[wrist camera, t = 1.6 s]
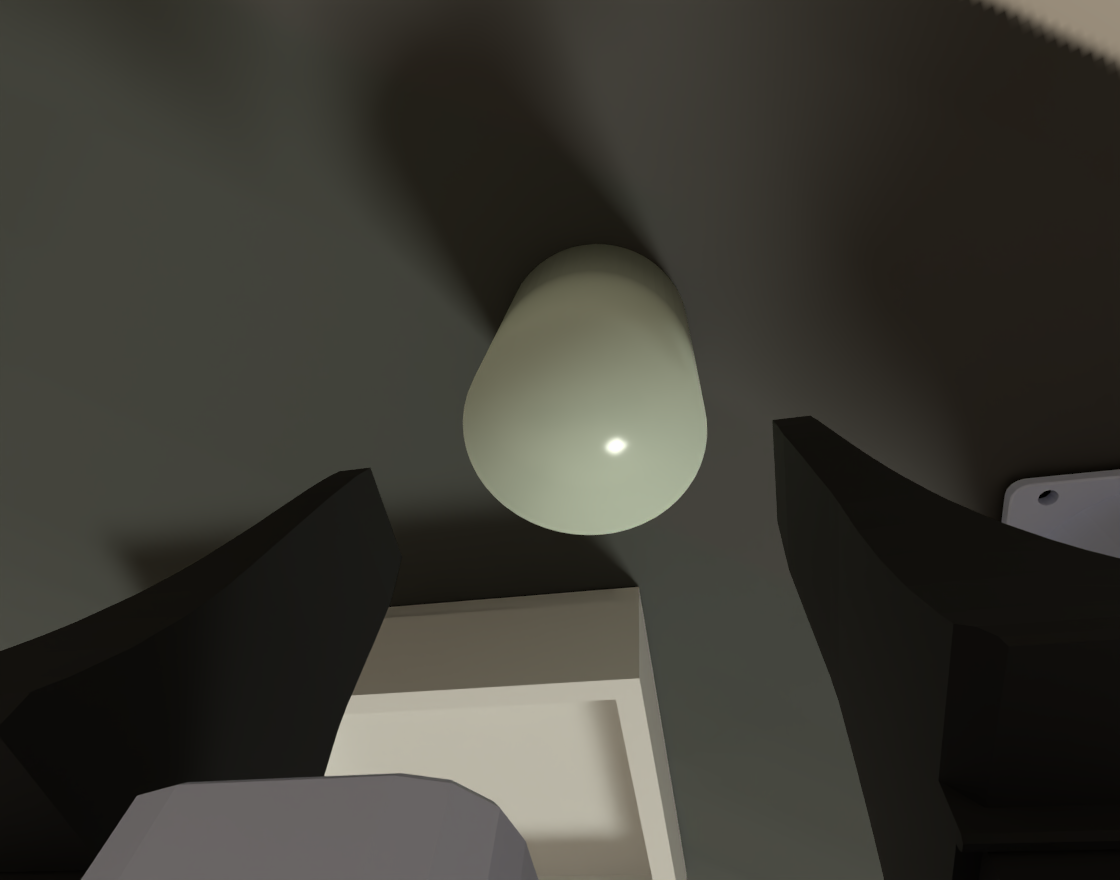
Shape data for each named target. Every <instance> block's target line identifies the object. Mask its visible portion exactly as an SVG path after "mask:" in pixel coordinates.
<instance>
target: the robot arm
mask: <svg viewBox="0 0 1120 880" xmlns="http://www.w3.org/2000/svg"><path fill="white" fill-rule="evenodd" d="M773 439H774V459H775V479H776V499H777V520H778V525H779V529H780V534H781V538H782V542H783V547H784V551H785V555H786V559H787V563H788V567H789V570H790V573H791V576H792V579H793V581H794V584H795V586H796V589H797V592H798V594H799V597H800V599H801V602H802V605H803V607H804V610H805V612H806V615H807V618H808V620H809V623H810V625H811V628H812V630H813V633H814V636H815V638H816V641H817V643H818V646H819V648H820V651H821V654H822V656H823V659H824V661H825V664H826V666H827V669H828V672H829V674H830V677H831V680H832V683H833V686H834V689H835V692H836V695H837V698H838V700H839V704H840V708H841V711H842V715H843V719H844V722H845V726H846V730H847V734H848V737H849V741H850V745H851V749H852V752H853V756H854V760H855V764H856V768H857V772H858V775H859V779H860V783H861V787H862V791H863V795H864V799H865V803H866V807H867V811H868V815H869V819H870V822H871V827H872V831H873V835H874V839H875V843H876V847H877V851H878V855H879V860H880V864H881V868H882V872H883V876H884V880H1120V469H1117V470H1107V471H1097V472H1087V473H1076V474H1066V475H1056V476H1046V477H1036V478H1025V479H1021V480H1018V481H1016V482H1014V483H1013V484H1011V485H1010V486H1009V487H1008V489H1007V490H1006V493H1005V497H1004V505H1003V513H1002V521H1001V522H999V521H997V520H994V519H992V518H989V517H986V516H984V515H982V514H979V513H977V512H975V511H972V510H970V509H968V508H966V507H963V506H961V505H959V504H957V503H954V502H952V501H950V500H947V499H945V498H943V497H941V496H939V495H937V494H935V493H933V492H931V491H929V490H927V489H925V488H924V487H922V486H920V485H918V484H916V483H914V482H913V481H911V480H909V479H907V478H905V477H903V476H902V475H900V474H898V473H896V472H895V471H893V470H891V469H890V468H888V467H886V466H885V465H883V464H881V463H880V462H878V461H877V460H875V459H873V458H872V457H870V456H869V455H867V454H866V453H864V452H863V451H861V450H860V449H858V448H857V447H855V446H854V445H852V444H851V443H849V442H848V441H846V440H845V439H844V438H842V437H841V436H839V435H838V434H836V433H835V432H834V431H832V430H831V429H829V428H828V427H826V426H825V425H824V424H822V423H821V422H819V421H818V420H816V419H815V418H813V417H812V416H804V417H796V418H787V419H779V420H773ZM1048 490H1051V492H1050V494H1048V495H1047V496H1046V497H1043V498H1039V496H1040V495H1041V494H1042V493H1043V492H1044V491H1048ZM401 558H402V556H401V553H400V550H399V547H398V545H397V542H396V539H395V536H394V533H393V531H392V528H391V525H390V522H389V519H388V516H387V514H386V511H385V508H384V505H383V502H382V500H381V497H380V494H379V491H378V488H377V485H376V483H375V480H374V477H373V474H372V471H371V469H370V468H364V469H356V470H347V471H339V472H337V473H335V474H333V475H331V476H329V477H328V478H326V479H324V480H322V481H321V482H319V483H317V484H316V485H314V486H313V487H311V488H309V489H308V490H306V491H305V492H303V493H302V494H300V495H299V496H297V497H296V498H294V499H293V500H291V501H290V502H288V503H287V504H285V505H284V506H282V507H281V508H279V509H278V510H276V511H275V512H274V513H272V514H271V515H269V516H268V517H266V518H265V519H263V520H262V521H260V522H259V523H257V524H256V525H254V526H253V527H251V528H250V529H248V530H247V531H245V532H243V533H242V534H240V535H239V536H237V537H236V538H234V539H232V540H231V541H229V542H228V543H226V544H225V545H223V546H221V547H220V548H218V549H217V550H215V551H213V552H212V553H210V554H209V555H207V556H206V557H204V558H202V559H201V560H199V561H197V562H196V563H194V564H192V565H190V566H189V567H187V568H185V569H183V570H182V571H180V572H178V573H176V574H174V575H173V576H171V577H169V578H167V579H165V580H163V581H161V582H159V583H157V584H156V585H154V586H152V587H150V588H148V589H146V590H144V591H142V592H140V593H138V594H136V595H134V596H132V597H130V598H128V599H125V600H123V601H121V602H119V603H117V604H115V605H112V606H110V607H108V608H106V609H104V610H101V611H99V612H97V613H95V614H93V615H90V616H88V617H86V618H84V619H82V620H79V621H77V622H75V623H72V624H70V625H68V626H65V627H63V628H60V629H58V630H55V631H53V632H50V633H48V634H45V635H43V636H40V637H38V638H35V639H32V640H30V641H27V642H24V643H22V644H19V645H16V646H13V647H11V648H8V649H5V650H3V651H0V880H539V879H538V877H537V874H536V871H535V868H534V865H533V862H532V859H531V856H530V853H529V850H528V847H527V844H526V841H525V840H524V838H523V837H522V836H521V834H520V833H519V832H518V831H517V829H516V828H515V827H514V825H513V824H512V823H511V821H510V820H509V819H508V817H507V816H506V815H505V814H504V812H503V811H502V810H501V808H500V807H499V806H498V805H497V804H496V803H495V802H494V801H492V800H490V799H488V798H486V797H484V796H482V795H480V794H478V793H476V792H474V791H472V790H470V789H468V788H466V787H464V786H463V785H461V784H459V783H457V782H455V781H453V780H449V779H442V778H434V777H427V776H419V775H412V774H404V773H391V774H368V775H344V776H324V775H325V772H326V768H327V765H328V762H329V758H330V755H331V752H332V748H333V745H334V742H335V738H336V735H337V732H338V729H339V726H340V723H341V721H342V718H343V715H344V713H345V710H346V707H347V705H348V702H349V700H350V698H351V695H352V693H353V691H354V688H355V686H356V684H357V681H358V679H359V677H360V674H361V672H362V670H363V667H364V665H365V663H366V660H367V658H368V656H369V653H370V651H371V649H372V646H373V644H374V642H375V639H376V637H377V634H378V632H379V630H380V627H381V625H382V622H383V620H384V618H385V615H386V613H387V610H388V608H389V605H390V602H391V599H392V595H393V591H394V588H395V584H396V580H397V575H398V571H399V567H400V562H401Z"/></svg>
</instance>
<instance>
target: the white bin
mask: <svg viewBox="0 0 1120 880" xmlns="http://www.w3.org/2000/svg"><path fill="white" fill-rule="evenodd" d="M391 773H404V774H412V775H419V776H427V777H434V778H442V779H449V780H453V781H455V782H457V783H459V784H461V785H463V786H464V787H466V788H468V789H470V790H472V791H474V792H476V793H478V794H480V795H482V796H484V797H486V798H488V799H490V800H492V801H494V802H495V803H496V804H497V805H498V806H499V807H500V808H501V810H502V811H503V812H504V814H505V815H506V816H507V817H508V819H509V820H510V821H511V823H512V824H513V825H514V827H515V828H516V829H517V831H518V832H519V833H520V834H521V836H522V837H523V838H524V840H525V841H526V844H527V847H528V850H529V853H530V856H531V859H532V862H533V865H534V868H535V871H536V874H537V877H538V879H539V880H687V876H686V867H685V861H684V855H683V849H682V843H681V837H680V831H679V825H678V819H677V813H676V807H675V801H674V795H673V789H672V783H671V777H670V771H669V765H668V759H667V753H666V747H665V741H664V735H663V729H662V723H661V717H660V711H659V705H658V699H657V693H656V687H655V681H654V675H653V669H652V663H651V657H650V651H649V645H648V639H647V633H646V627H645V621H644V615H643V609H642V603H641V597H640V591H639V587H630V588H617V589H605V590H593V591H580V592H568V593H556V594H544V595H531V596H519V597H507V598H494V599H482V600H470V601H458V602H445V603H433V604H421V605H408V606H396V607H389V608H388V610H387V613H386V615H385V618H384V620H383V622H382V625H381V627H380V630H379V632H378V634H377V637H376V639H375V642H374V644H373V646H372V649H371V651H370V653H369V656H368V658H367V660H366V663H365V665H364V667H363V670H362V672H361V674H360V677H359V679H358V681H357V684H356V686H355V688H354V691H353V693H352V695H351V698H350V700H349V702H348V705H347V707H346V710H345V713H344V715H343V718H342V721H341V723H340V726H339V729H338V732H337V735H336V738H335V742H334V745H333V748H332V752H331V755H330V758H329V762H328V765H327V768H326V772H325V775H324V776H344V775H368V774H391Z"/></svg>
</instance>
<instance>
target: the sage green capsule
mask: <svg viewBox="0 0 1120 880" xmlns="http://www.w3.org/2000/svg"><path fill="white" fill-rule="evenodd" d="M463 432H464V440H465V445H466V450H467V452H468V455H469V458H470V461H471V463H472V465H473V467H474V469H475V471H476V473H477V475H478V477H479V478H480V479H481V481H482V482H483V484H484V485H485V487H486V488H487V489H488V490H489V491H490V492H491V493H492V495H493V496H494V497H495V498H496V499H497V500H499V501H500V502H501V503H502V504H503V505H504V506H505V507H507V508H508V509H510V510H511V511H512V512H514V513H515V514H517V515H518V516H520V517H522V518H524V519H526V520H528V521H529V522H532V523H534V524H536V525H539V526H541V527H544V528H547V529H551V530H554V531H558V532H563V533H569V534H578V535H602V534H609V533H615V532H619V531H623V530H627V529H631V528H633V527H636V526H638V525H641V524H643V523H645V522H647V521H649V520H651V519H653V518H655V517H657V516H658V515H660V514H661V513H662V512H664V511H665V510H667V509H668V508H669V507H670V506H671V505H673V504H674V503H675V502H676V501H677V500H678V499H679V498H680V497H681V496H682V495H683V493H684V492H685V491H686V490H687V489H688V487H689V486H690V484H691V482H692V481H693V479H694V478H695V476H696V474H697V472H698V470H699V467H700V465H701V463H702V459H703V456H704V452H705V448H706V440H707V420H706V414H705V408H704V403H703V398H702V393H701V388H700V382H699V377H698V372H697V367H696V362H695V357H694V352H693V347H692V342H691V337H690V332H689V327H688V321H687V316H686V311H685V308H684V305H683V302H682V299H681V297H680V295H679V293H678V291H677V289H676V287H675V286H674V284H673V283H672V281H671V280H670V278H669V277H668V276H667V275H666V274H665V273H664V272H663V271H662V270H661V269H660V268H659V267H658V266H657V265H656V264H654V263H653V262H652V261H650V260H649V259H647V258H646V257H644V256H642V255H640V254H638V253H636V252H634V251H632V250H629V249H626V248H622V247H619V246H613V245H607V244H589V245H580V246H576V247H572V248H568V249H566V250H563V251H560V252H558V253H556V254H554V255H552V256H551V257H549V258H547V259H546V260H544V261H543V262H542V263H540V264H539V265H538V266H537V267H536V268H535V269H534V270H533V271H531V272H530V273H529V275H528V276H527V277H526V279H525V280H524V281H523V282H522V284H521V286H520V287H519V289H518V291H517V293H516V295H515V297H514V299H513V301H512V303H511V305H510V307H509V309H508V311H507V313H506V315H505V317H504V319H503V321H502V323H501V325H500V327H499V329H498V331H497V333H496V335H495V337H494V339H493V341H492V343H491V345H490V347H489V349H488V351H487V353H486V355H485V357H484V359H483V361H482V363H481V365H480V367H479V369H478V371H477V373H476V375H475V377H474V379H473V382H472V384H471V387H470V389H469V391H468V394H467V398H466V402H465V406H464V415H463Z"/></svg>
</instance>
